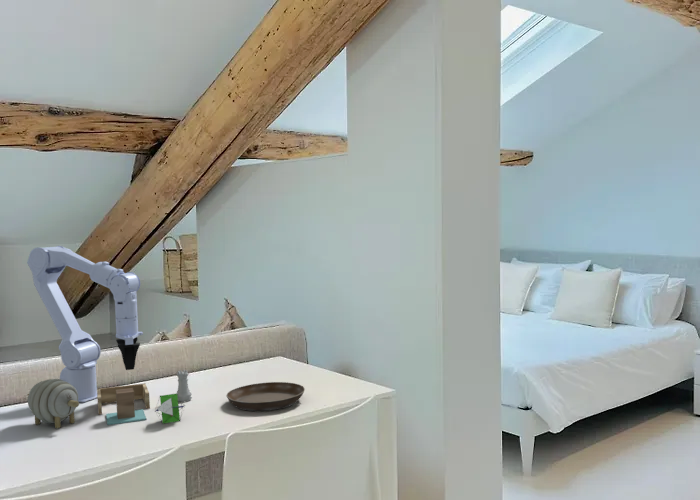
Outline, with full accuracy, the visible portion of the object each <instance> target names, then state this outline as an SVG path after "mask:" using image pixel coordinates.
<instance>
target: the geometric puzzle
mask: <svg viewBox="0 0 700 500" xmlns="http://www.w3.org/2000/svg"><path fill="white" fill-rule="evenodd" d="M177 395H178V394H176V393H171V394H163V395H159V397H158V401H157V404H156V407H155V410H154V413H156V416H157V417H158V419H159V420H160V422H161V423H162V424H163V425H164V424H169V423H174V422H175V423H177V422H181V420H182V416H183V413H184V411H185V409H184V408H185V407H186V404H185V403H182V402H178V396H179V395H178V396H177ZM179 400H180V399H179ZM159 403H160V405H159ZM179 403H180V404H181V405H179ZM158 405H159V406H158ZM156 408H157V409H156ZM180 410H182V411H181V412H180ZM159 412H160V413H159ZM158 415H159V416H158Z"/></svg>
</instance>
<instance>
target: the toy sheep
mask: <svg viewBox="0 0 700 500" xmlns="http://www.w3.org/2000/svg"><path fill="white" fill-rule="evenodd" d="M26 395H27V396H28V397H27V405H28V408H29V410H30V411H31V413H32V415H33V416H34V423H35V425H37V426H38V425H40V424H41V423H47V424H54V428H55V429H60V428H61V422H63V421H65V420H66V419H67V418H68V423H70V424H74V423H75V422H76V421H75V420H76V419H75V410H76V409H77V408H78V407H79V406H80V402H78V393H77V390H76V389H75V388H74V387H73V386H72V385H71V384H69V383H68V382H66V381H63V380H61V379H60V378H49V379H46V380H42V381H39V382H37V383H35V384H34V385H33V386H32V388H31V389H30V391H29V393H28V394H26Z"/></svg>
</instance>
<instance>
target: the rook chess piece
mask: <svg viewBox="0 0 700 500" xmlns="http://www.w3.org/2000/svg"><path fill="white" fill-rule="evenodd" d="M189 375H190V374H189V373H188V370H185V369H183V370H181V369H180V370H178V371H177V374H176V376H177V378H178V379H177V382H178V384H177V391H176V393H175V394H178V395H179V396H178V395H177V396H178V403H180V402H181V403H185V402H184V401H187V402H190V401H192V399H193V397H192V391H191V390H190V388H189V383H188V381H189V378H188V377H189ZM179 399H180V400H179ZM189 400H190V401H189Z"/></svg>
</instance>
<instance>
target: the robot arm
mask: <svg viewBox="0 0 700 500" xmlns="http://www.w3.org/2000/svg"><path fill="white" fill-rule="evenodd" d="M26 264H27V265H28V267H29V269H30V271H31V273H32V275H31V276H32V281H33V285H34V288H35V289H36V291H37V293H38V296H39V297H40V298H41V301H42V303H43V305H44V307H45V308H46V311H47V313H48V314H49V317H50V318H51V320H52V322H53V324H54V326H55V328H56V330H57V333H58V334H59V335H60V338H61V342H60V344H59V345H58V350H59V353H60V358H61V362H62V364H63V365H64V366H65V367H63V368H62V370H61V372H60V375H59V379H61V380H63V381H66V382H68V383H69V384H71V385H72V386H73V387H74V388H75V389H76V390H77V393H78V402H79V403H85V402H90V401H91V400H94V399H95V400H96V399H97V389H98V387H97V366H96V365H97V361H98V360H99V359H100V356H101V355H102V354H101V353H102V351H101V346H100V344H98V342H97V341H95V340H94V339H93V337H92V335H91V334H90V333H88V332H86V331H85V330H82V329H81V326H80V324H79V323H78V321H77V319H76V316H75V315H74V313H73V311H72V309H71V307H70V305H69V304H68V302H67V300H66V298H65V296H64V293H63V292H62V290H61V288H60V285H59V284H58V283H57V282H58V278H59V277H60V276H61V274H62V273H63V271H64V270H65V268H66V267H70V268H72V269H74V270H76V271H79V272H82V273H84V274H87V275H88V276H89V278H90V280H91V281H92V282H95V283H96V284H98V285H101V286H103V287H105V288H107V289H109V290H110V292H111V294H112V295H113V300H114V310H115V311H114V313H115V330H116V331H115V333H116V334H115V338H117V339H116V340H115V341H116V343H117V348H118V349H119V351H120V353H121V358H122V362H123V365H124V368H125V370H126V371H129V370H135V367H136V366H135V365H136V360H137V354H138V350H139V348H140V346H141V342H137V341H138V337H139V336H143V335H144V332H143V331H139V321H138V320H139V317H138V315H139V314H138V295H137V292H138V291H139V289H140V288H141V279H140V277H139V276H138V275H137V274H136V273H135V272H133V271H128V272H126V273H125V271H124V269H122V268H116V267H114V266H112V265H110V262H108V261H98V262H96V263H95V262H93V261H91V260H89V259H87V258H85V257H83V256H82V255H80V254H78V253H76V252H75V251H72V249H71V248H67V247H64V246H63V245H56V246H47V247H41V246H39V247H34V248H33V249H31V251H30V252H29V256H28V258H27V262H26Z"/></svg>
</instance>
